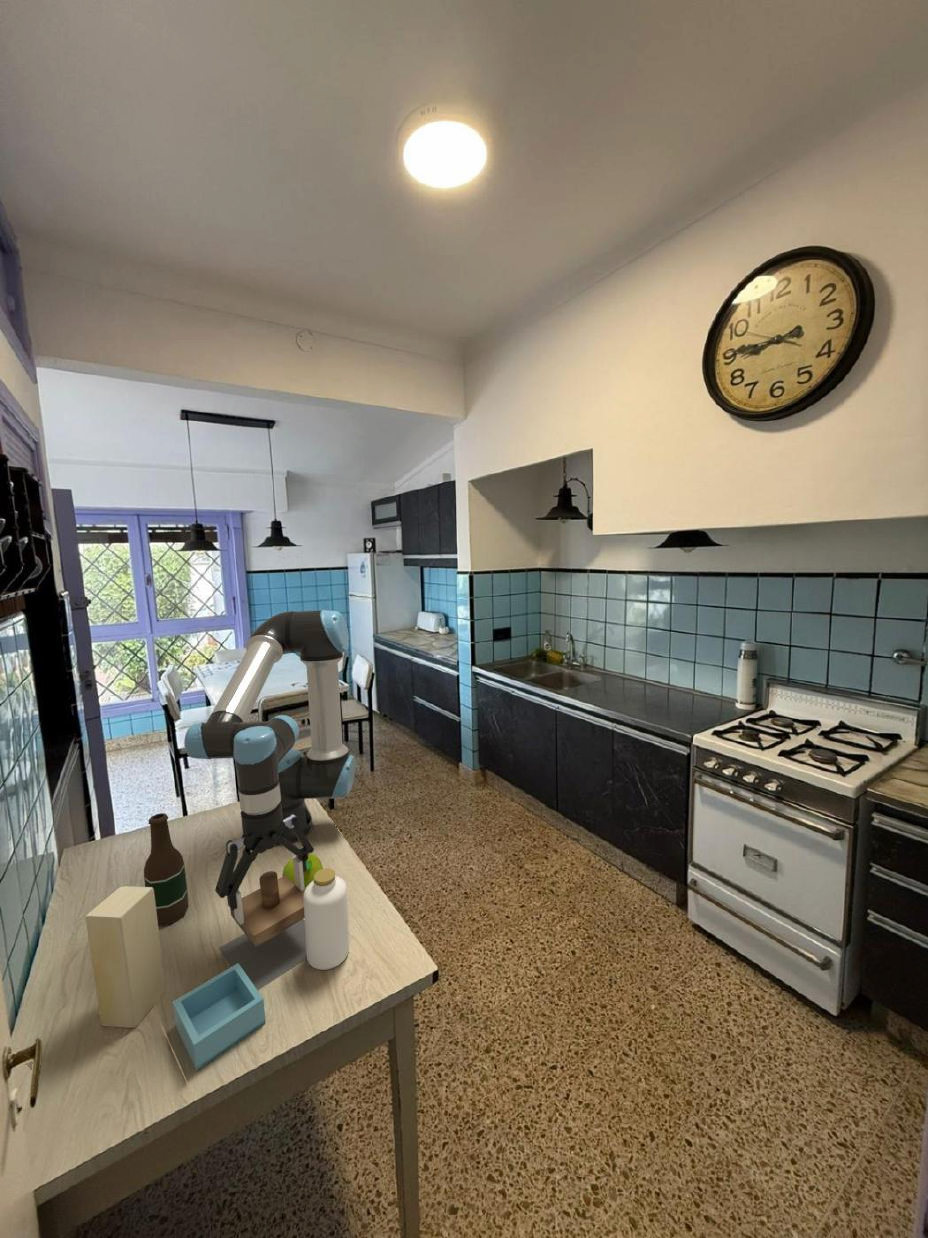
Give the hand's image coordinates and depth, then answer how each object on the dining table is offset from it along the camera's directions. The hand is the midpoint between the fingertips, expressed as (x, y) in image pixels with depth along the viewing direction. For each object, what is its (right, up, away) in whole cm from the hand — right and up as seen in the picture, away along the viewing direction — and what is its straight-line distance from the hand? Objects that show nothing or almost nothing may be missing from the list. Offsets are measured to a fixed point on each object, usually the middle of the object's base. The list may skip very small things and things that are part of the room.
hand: (271, 903), depth 102 cm
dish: (-2, -12, -16) cm, 20 cm away
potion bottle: (+12, -10, -2) cm, 16 cm away
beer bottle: (-27, -9, +11) cm, 31 cm away
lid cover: (0, -3, 0) cm, 3 cm away
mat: (0, -10, +1) cm, 10 cm away
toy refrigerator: (-20, -12, -12) cm, 27 cm away
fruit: (+1, -8, +17) cm, 18 cm away
